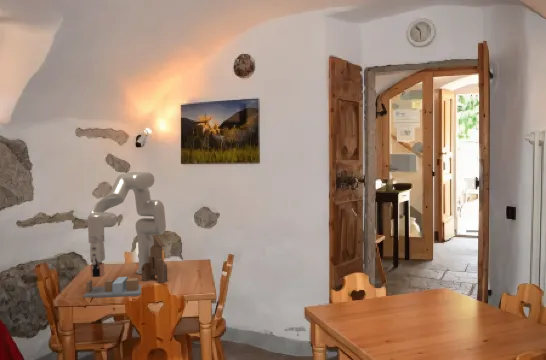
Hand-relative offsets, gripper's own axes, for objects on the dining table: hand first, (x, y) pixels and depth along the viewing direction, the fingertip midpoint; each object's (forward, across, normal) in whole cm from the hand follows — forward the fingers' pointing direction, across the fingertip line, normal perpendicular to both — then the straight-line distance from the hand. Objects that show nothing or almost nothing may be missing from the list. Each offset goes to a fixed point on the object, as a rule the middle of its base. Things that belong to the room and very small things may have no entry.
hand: (97, 275), depth 262 cm
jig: (+9, 0, -8) cm, 12 cm away
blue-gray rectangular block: (+8, 0, -11) cm, 13 cm away
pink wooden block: (0, 0, 0) cm, 0 cm away
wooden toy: (+9, +21, -25) cm, 34 cm away
